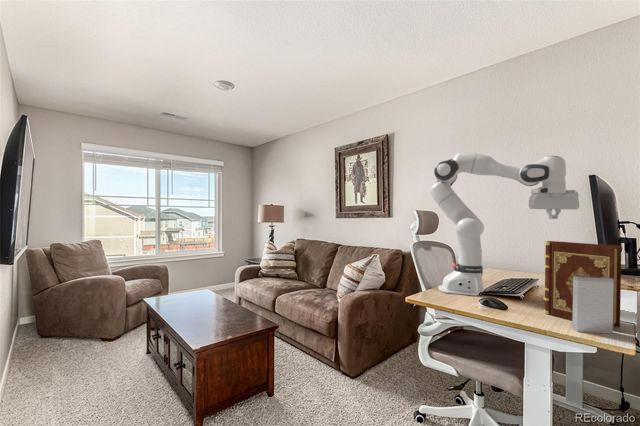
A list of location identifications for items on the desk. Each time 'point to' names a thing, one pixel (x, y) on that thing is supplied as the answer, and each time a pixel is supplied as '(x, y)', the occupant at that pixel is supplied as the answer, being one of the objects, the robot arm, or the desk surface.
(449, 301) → the desk surface
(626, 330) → the desk surface
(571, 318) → the decorative book
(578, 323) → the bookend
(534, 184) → the robot arm
